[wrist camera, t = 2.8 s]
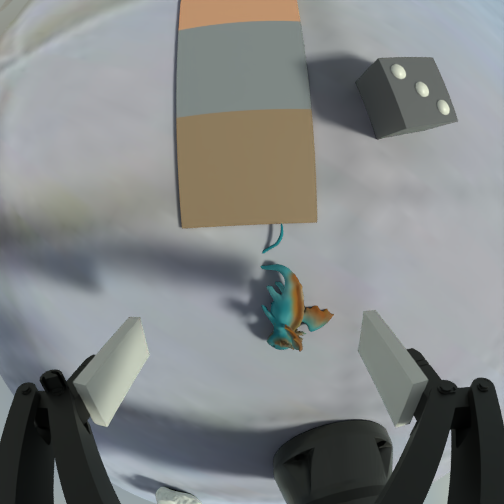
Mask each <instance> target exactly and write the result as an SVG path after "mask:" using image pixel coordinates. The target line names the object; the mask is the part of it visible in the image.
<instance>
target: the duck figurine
mask: <svg viewBox="0 0 504 504" xmlns="http://www.w3.org/2000/svg"><path fill="white" fill-rule="evenodd" d="M156 500H157V504H202V503H201V502H200V501H199V500H198V499H197V498H196V497H195V496H193V495H191V494H187V493H182V492H178V491H173V490H171V489H168V488H166V487H160V488H159V489H158V490H157V492H156Z"/></svg>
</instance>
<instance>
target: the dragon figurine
mask: <svg viewBox="0 0 504 504" xmlns="http://www.w3.org/2000/svg"><path fill="white" fill-rule="evenodd" d="M282 236H283V226H282V223H281V233H280V236H279V238H278V240H277V242H276V243H275V244H273V245H271V246H269V247H268V248H266V249H265V250H263V252H262V253H265V252H266V251H268V250H270V249H271V248H274V247H275V246H277V245H278V244H279V243H280V241H281V239H282ZM261 268H262V269H265V270H276V271H278V272H280V273H281V274H282V275H283V277H284V279H285V287H284V286H283V285H282V283H281V282H275V284H276V286H278V287H279V289H280V291H281V292H282V294H281V295H280V294H278V293H277V292H276V291H275V290H274V288H273V287H272V286H269V285H268V287H267V286H266V287H267V289H268V291H269V292H270V295H271V297H272V298H273V300H274V301H273V303H271V304H272V305H271V312H269V311H268V309H267V307H266V306H264V305H262V309H263V311H264V312H265V314H266V316H267V317H268V319H269V320H270V321H271V322H272V324H273V325H274V331H273V333H272V334H271V335H270V336H269V337H268V339H267V343H268V344H269V345H271V346H272V347H274V348H276V349H279V350H284V349H288V348H291V349H293V350H294V349H296V350H299V351H301V350H302V349H303V347H302V340H303V339H302V338H301V337H299V335H302V334H306V333H304V332H303V331H301V332H300V331H297V330H298V329H297V328H298V327H299V326H300V324H301V322H304V323H306V324H307V326H308V328H309V331H311V332H312V331H315V330H317V329H319V328H321V327H322V326H324V325H325V324H326V323H327V322H328V321H329V320H330V319H331V318H332V316H333V315H334V314H331V313H330V312H329V311H328V310H327V309H324V311H321V310H320V309H319V308H318V306H313V307H312V308H307V307H306V310H305V307H304V299H303V296H304V295H303V291H302V285H301V284H300V283H299V280H298V278H297V277H296V275H295V274H294V273H293V272H292V271H291V270H290V269H289V268H287V267H285V266H283V265H279V264H274V265H267V266H261ZM304 310H305V312H304ZM302 336H303V335H302Z"/></svg>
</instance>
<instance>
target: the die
mask: <svg viewBox="0 0 504 504" xmlns="http://www.w3.org/2000/svg"><path fill="white" fill-rule="evenodd" d="M356 84H357V87H358V89H359V92H360V94H361V97H362V99H363V102H364V104H365V107H366V109H367V112H368V115H369V118H370V120H371V123H372V126H373V129H374V132H375V135H376V138H377V139H382V138H386V137H392V136H397V135H402V134H408V133H413V132H419V131H425V130H428V129H432V128H435V127H439V126H442V125H446V124H450V123H454V122H457V121H458V119H457V116H456V113H455V110H454V107H453V105H452V102H451V99H450V96H449V94H448V91H447V89H446V86H445V84H444V81H443V79H442V77H441V74H440V72H439V70H438V68H437V65H436V63H435V61H434V59H433V58H430V57H395V58H378V59H377V60H376V61H375V62H374V63H373V64H372V65H371V66H370V67H369V68H368V70H367V71H366V72H365V73H364V74H363V75H362V76H361V77H360V78H359V79H358V80H357V81H356Z"/></svg>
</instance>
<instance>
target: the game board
mask: <svg viewBox="0 0 504 504" xmlns="http://www.w3.org/2000/svg"><path fill="white" fill-rule="evenodd" d="M176 120H177V157H178V178H179V195H180V209H181V221H182V228H198V227H216V226H235V225H257V224H281V223H313V222H317V196H316V170H315V151H314V136H313V123H312V111H311V100H310V90H309V81H308V72H307V64H306V56H305V49H304V42H303V35H302V28H301V22H300V16H299V11H298V5H297V0H181V5H180V17H179V31H178V50H177V85H176Z"/></svg>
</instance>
